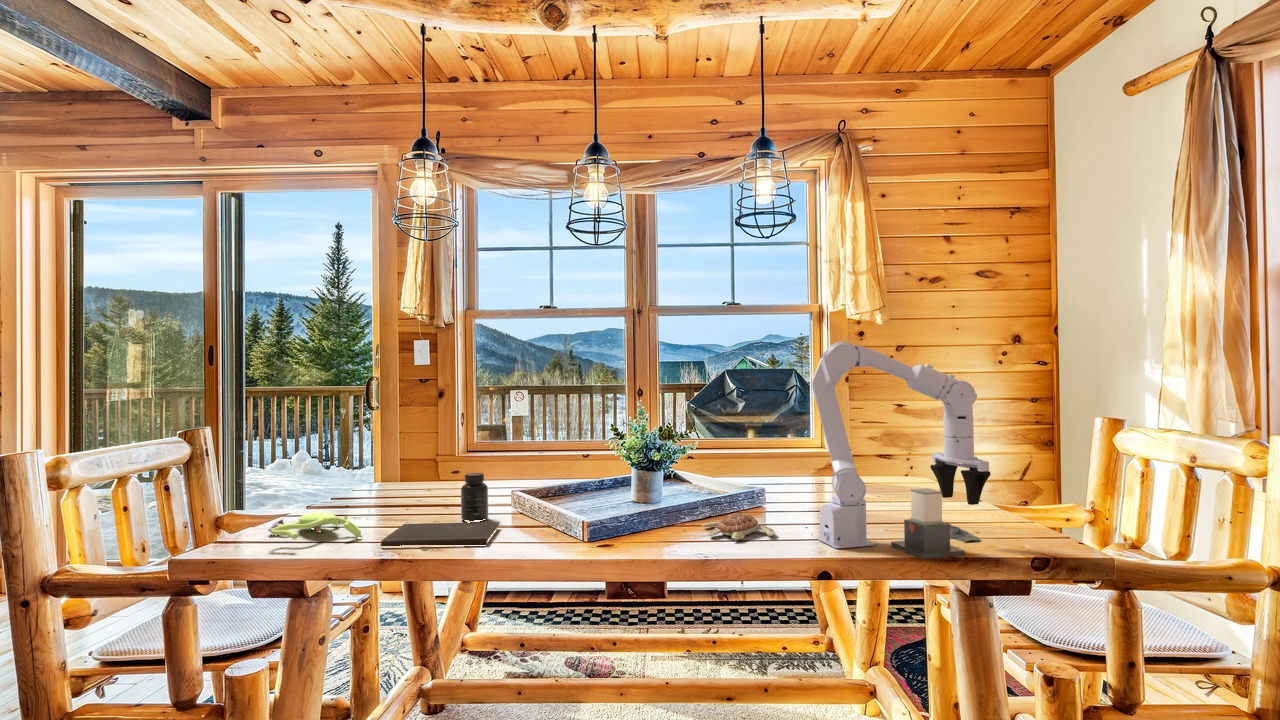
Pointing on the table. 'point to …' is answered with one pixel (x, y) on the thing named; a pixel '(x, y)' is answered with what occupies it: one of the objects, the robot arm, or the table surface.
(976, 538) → the driftwood
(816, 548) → the table surface
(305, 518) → the figurine
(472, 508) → the supplement bottle
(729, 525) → the decorative turtle
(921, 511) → the post
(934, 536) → the sleeve stand
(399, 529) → the hardcover book
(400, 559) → the table surface
